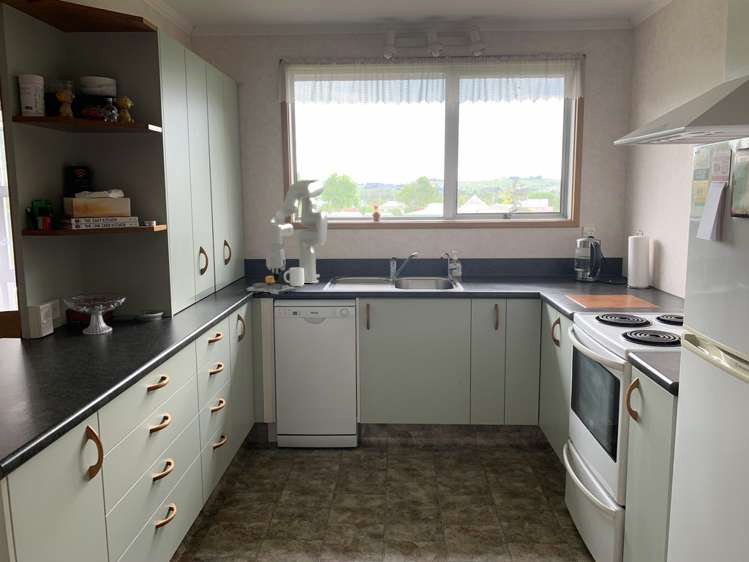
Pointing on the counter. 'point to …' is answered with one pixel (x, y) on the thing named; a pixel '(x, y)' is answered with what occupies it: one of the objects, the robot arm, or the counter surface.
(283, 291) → the grey bar
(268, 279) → the orange block
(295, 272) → the mug
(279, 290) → the slider switch board
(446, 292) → the counter surface
